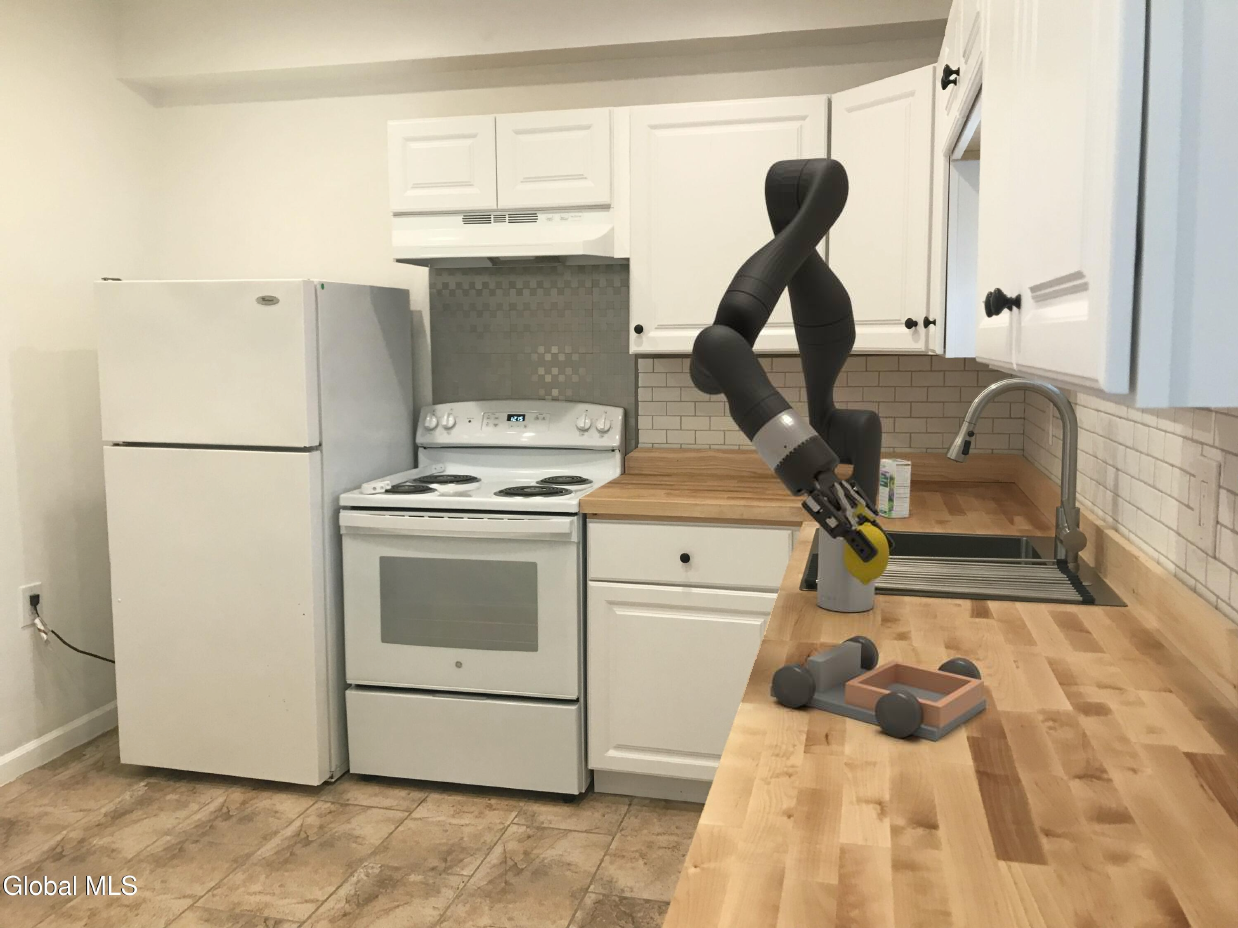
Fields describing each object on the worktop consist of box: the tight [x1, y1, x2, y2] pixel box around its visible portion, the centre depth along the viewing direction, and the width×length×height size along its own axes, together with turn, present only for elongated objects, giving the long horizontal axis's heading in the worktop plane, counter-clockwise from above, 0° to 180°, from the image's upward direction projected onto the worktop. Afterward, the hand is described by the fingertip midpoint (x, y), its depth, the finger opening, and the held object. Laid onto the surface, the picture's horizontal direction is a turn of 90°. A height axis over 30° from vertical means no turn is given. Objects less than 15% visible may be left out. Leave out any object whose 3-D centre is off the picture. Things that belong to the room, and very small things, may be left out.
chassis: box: [769, 635, 987, 742], centre depth 126 cm, size 18×22×5 cm
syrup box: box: [877, 458, 912, 519], centre depth 258 cm, size 6×6×14 cm
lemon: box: [844, 523, 890, 585], centre depth 128 cm, size 6×6×8 cm
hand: (880, 553), depth 127 cm, fingers closed on lemon, 5 cm apart
